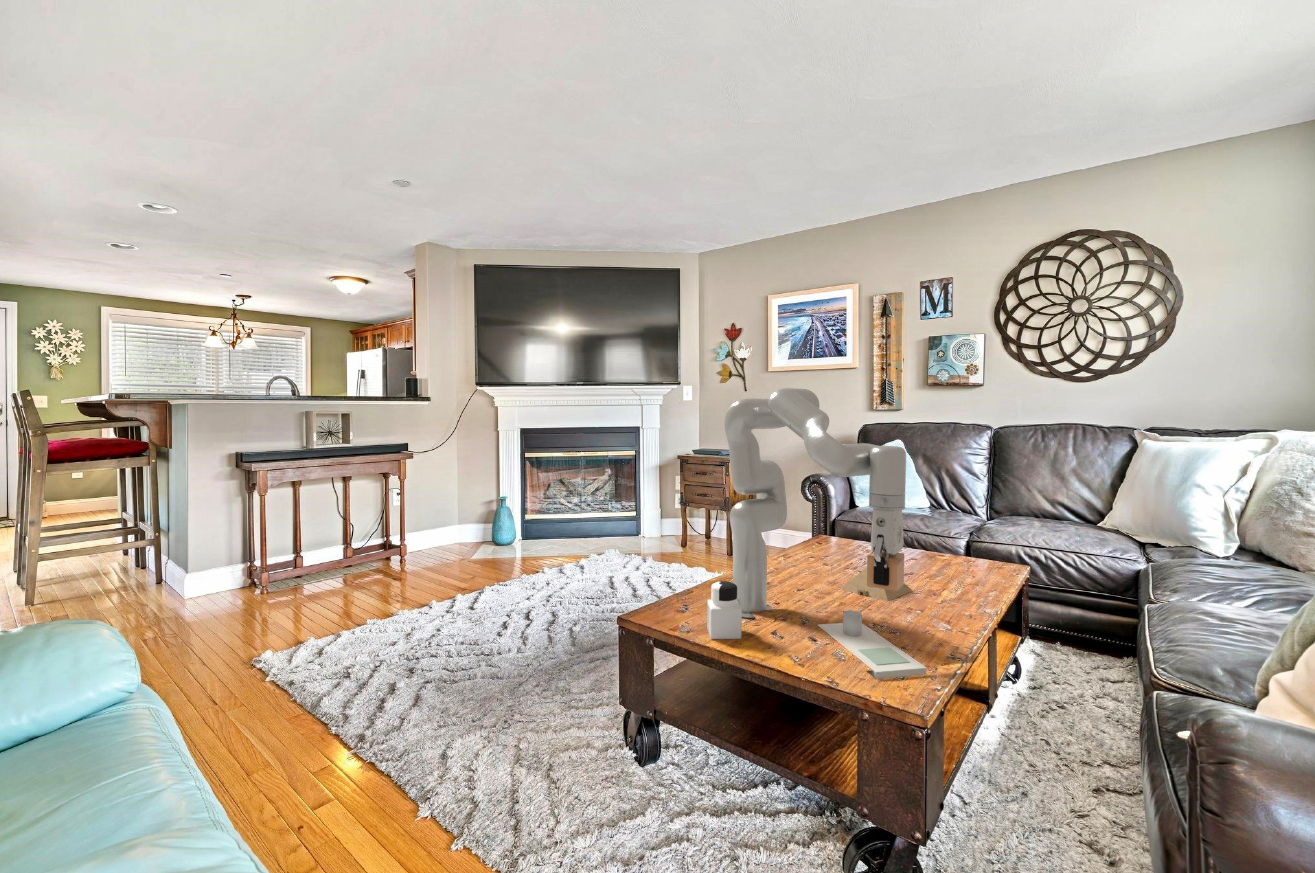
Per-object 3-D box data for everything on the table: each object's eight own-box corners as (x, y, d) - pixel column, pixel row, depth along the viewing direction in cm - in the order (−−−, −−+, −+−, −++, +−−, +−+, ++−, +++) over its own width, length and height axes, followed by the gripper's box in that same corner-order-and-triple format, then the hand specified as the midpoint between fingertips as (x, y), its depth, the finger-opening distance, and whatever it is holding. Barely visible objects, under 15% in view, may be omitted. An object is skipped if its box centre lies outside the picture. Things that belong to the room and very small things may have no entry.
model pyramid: (837, 590, 189) (837, 559, 189) (865, 580, 201) (865, 550, 200) (887, 603, 177) (887, 570, 176) (913, 591, 188) (914, 560, 188)
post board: (875, 678, 127) (876, 648, 126) (817, 630, 154) (817, 605, 154) (926, 674, 129) (927, 645, 128) (859, 627, 156) (860, 602, 156)
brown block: (897, 591, 129) (897, 559, 129) (866, 586, 133) (867, 555, 132) (903, 584, 134) (904, 553, 134) (874, 579, 138) (875, 549, 138)
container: (736, 627, 156) (736, 578, 155) (741, 639, 148) (742, 587, 147) (707, 628, 155) (707, 579, 155) (710, 639, 148) (711, 588, 147)
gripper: (895, 508, 123) (893, 593, 124) (913, 498, 138) (911, 574, 138) (858, 504, 128) (857, 587, 129) (879, 495, 142) (878, 569, 143)
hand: (885, 579), depth 133 cm, fingers closed on brown block, 6 cm apart
